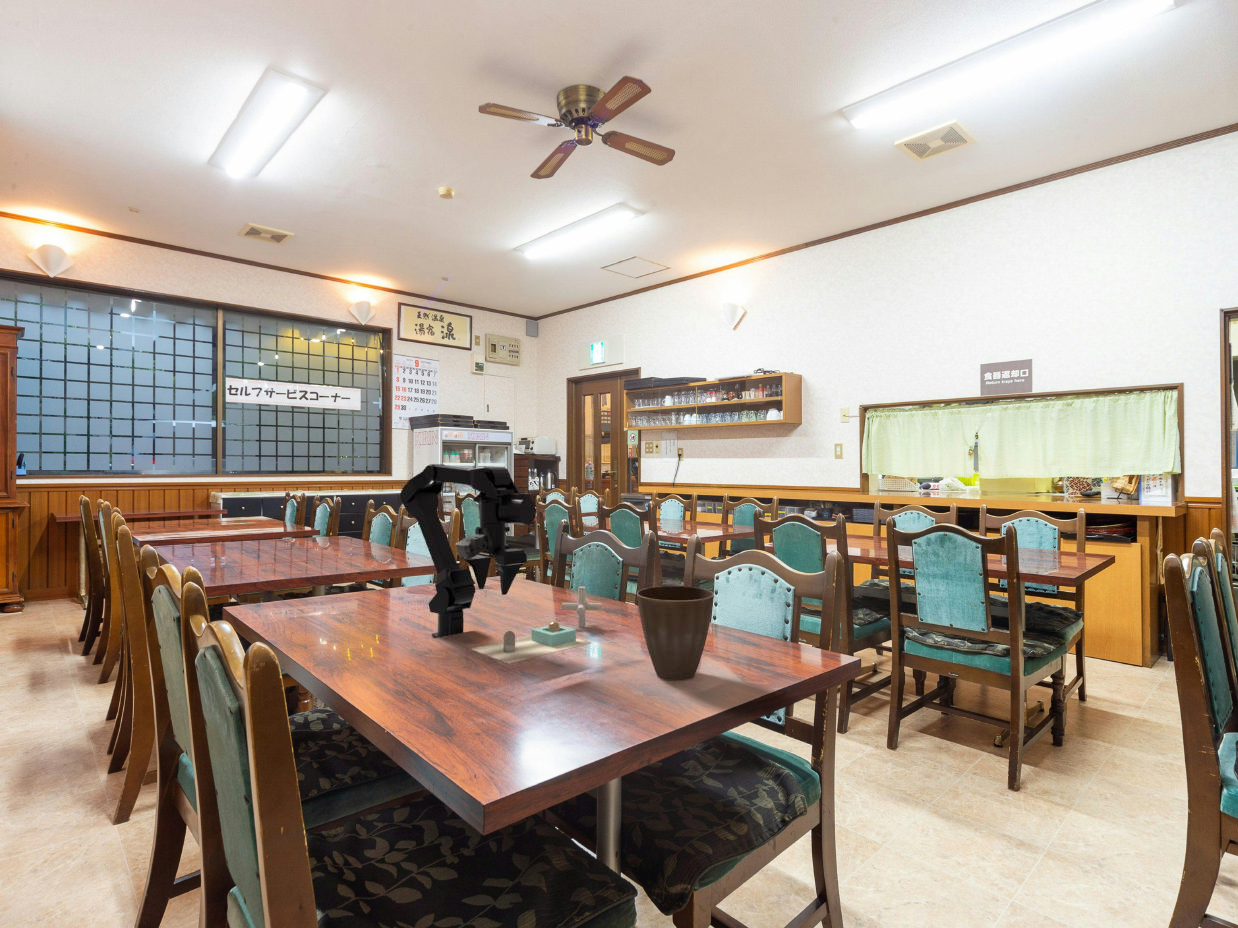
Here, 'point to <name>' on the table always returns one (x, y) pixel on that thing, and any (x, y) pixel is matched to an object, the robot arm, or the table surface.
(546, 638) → the teal collar
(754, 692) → the table surface
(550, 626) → the bronze post
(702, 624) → the plant pot
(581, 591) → the pipe connector
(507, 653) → the birch stand board
